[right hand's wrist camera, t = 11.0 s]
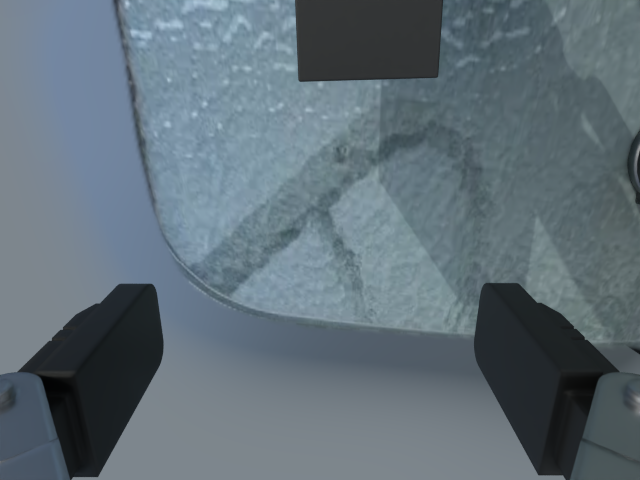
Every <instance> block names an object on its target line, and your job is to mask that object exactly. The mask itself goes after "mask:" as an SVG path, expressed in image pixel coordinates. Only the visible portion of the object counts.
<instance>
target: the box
mask: <svg viewBox="0 0 640 480" xmlns="http://www.w3.org/2000/svg"><path fill="white" fill-rule="evenodd" d="M295 7H296V31H297V55H298V79H299V81H300V82H306V81H341V80H376V79H410V78H437V77H438V70H439V54H440V38H441V23H442V7H443V0H295Z"/></svg>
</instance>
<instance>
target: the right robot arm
mask: <svg viewBox="0 0 640 480" xmlns="http://www.w3.org/2000/svg"><path fill="white" fill-rule="evenodd" d="M628 170H629V176H630V180H631V182H632V184H633V186H634V188H635V189H636V191H637V197H636V203H637V204H640V131H639V133H638V134H637V136H636V138H635V140H634V142H633V144H632V147H631V150H630V154H629V160H628ZM629 348H631V349H632V350H634V351H635V352H637V353H638V354H640V348H636V347H629ZM474 350H475V357H476V361H477V363H478V366H479V367H480V369H481V371H482V373H483V375H484V377H485V379H486V380H487V382H488V384H489V386H490V388H491V389H492V391H493V393H494V395H495V397H496V399H497V400H498V402H499V404H500V406H501V408H502V409H503V411H504V413H505V415H506V417H507V419H508V420H509V422H510V424H511V426H512V428H513V430H514V431H515V433H516V435H517V437H518V439H519V440H520V442H521V444H522V446H523V448H524V450H525V451H526V453H527V455H528V457H529V459H530V461H531V463H532V464H533V466H534V468H535V470H536V472H537V473H538V475H563V476H564V478H565V479H566V480H640V375H638V374H633V373H626V372H619V371H618V370H617V369H616V368H615V367H614V366H613V365H612V364H611V363H610V362H609V361H608V360H607V359H606V358H605V357H604V356H603V355H602V354H601V353H600V352H599V351H598V350H597V349H596V348H595V347H594V346H593V345H592V344H591V343H590V342H589V341H588V340H585V337H584V336H583V335H582V334H581V333H580V332H579V331H578V330H577V329H574V326H573V325H572V324H571V323H570V322H569V321H568V320H567V319H566V318H565V317H564V316H563V315H562V314H560V313H559V312H557V311H555V310H553V309H551V308H550V307H548V306H546V305H544V304H542V303H537V302H536V301H535V300H534V299H533V298H532V297H531V296H530V295H529V294H528V293H527V292H526V291H525V290H524V289H523V288H522V287H521V286H520V285H519V284H518V283H485V284H484V285H483V287H482V290H481V294H480V302H479V309H478V316H477V323H476V331H475V338H474ZM162 356H163V334H162V327H161V320H160V313H159V306H158V298H157V292H156V289H155V287H154V285H153V284H119V285H118V286H116V288H115V289H114V290H113V291H112V292H111V293H110V294H109V295H108V296H107V297H106V298H105V299H104V300H103V301H102V302H101V303H100V304H94V305H93V306H91V307H89V308H87V309H85V310H83V311H82V312H80V313H78V314H76V315H75V316H74V317H73V318H72V319H71V320H70V321H69V322H68V323H67V324H66V325H65V326H64V327H63V330H60V331H59V332H58V333H57V334H56V335H55V336H54V337H53V338H52V341H49V342H48V343H47V344H46V345H45V346H43V347H42V348H41V349H40V350H39V351H38V352H37V353H36V354H35V355H34V356H33V357H32V358H31V359H30V360H29V361H28V362H27V363H26V364H25V365H24V366H23V367H22V368H21V369H20V370H19V371H18V372H14V373H7V374H2V375H0V480H71V479H72V478H73V477H98V476H99V474H100V472H101V470H102V469H103V467H104V465H105V463H106V461H107V460H108V458H109V456H110V454H111V452H112V451H113V449H114V447H115V445H116V443H117V442H118V440H119V438H120V436H121V434H122V432H123V431H124V429H125V427H126V425H127V424H128V422H129V420H130V418H131V416H132V415H133V413H134V411H135V409H136V407H137V405H138V404H139V402H140V400H141V398H142V396H143V395H144V393H145V391H146V389H147V387H148V386H149V384H150V382H151V380H152V378H153V377H154V375H155V373H156V371H157V369H158V368H159V366H160V363H161V360H162Z"/></svg>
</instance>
